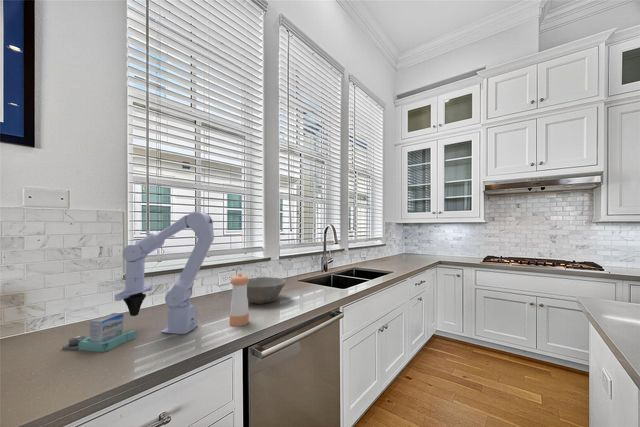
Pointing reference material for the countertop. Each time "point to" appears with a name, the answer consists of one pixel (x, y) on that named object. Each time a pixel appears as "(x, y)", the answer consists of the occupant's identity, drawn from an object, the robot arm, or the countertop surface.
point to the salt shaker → (239, 301)
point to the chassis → (87, 345)
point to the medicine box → (106, 327)
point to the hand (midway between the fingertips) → (134, 315)
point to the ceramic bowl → (264, 289)
